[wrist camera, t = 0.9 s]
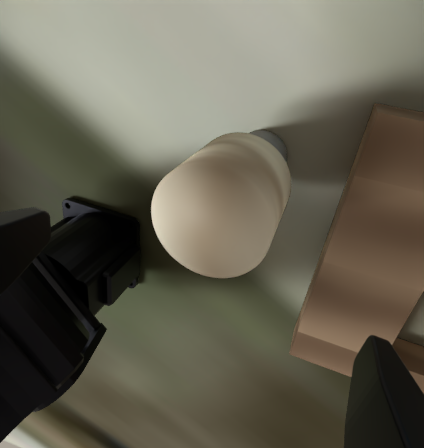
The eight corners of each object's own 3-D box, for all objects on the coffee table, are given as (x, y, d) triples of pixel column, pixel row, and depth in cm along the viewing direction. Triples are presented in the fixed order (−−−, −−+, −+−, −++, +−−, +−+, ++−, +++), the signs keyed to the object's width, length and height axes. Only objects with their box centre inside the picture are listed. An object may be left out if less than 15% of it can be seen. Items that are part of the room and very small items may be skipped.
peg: (217, 182, 22) (148, 256, 15) (229, 105, 20) (154, 148, 12) (291, 202, 21) (257, 293, 14) (313, 123, 19) (286, 182, 11)
